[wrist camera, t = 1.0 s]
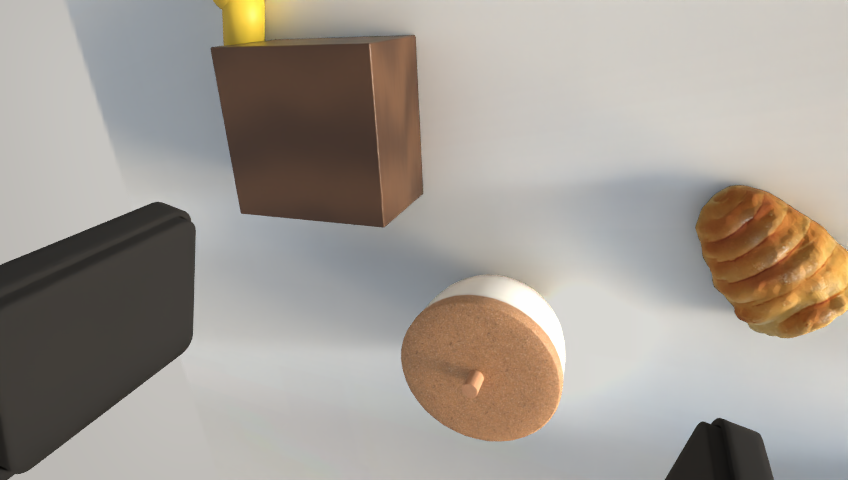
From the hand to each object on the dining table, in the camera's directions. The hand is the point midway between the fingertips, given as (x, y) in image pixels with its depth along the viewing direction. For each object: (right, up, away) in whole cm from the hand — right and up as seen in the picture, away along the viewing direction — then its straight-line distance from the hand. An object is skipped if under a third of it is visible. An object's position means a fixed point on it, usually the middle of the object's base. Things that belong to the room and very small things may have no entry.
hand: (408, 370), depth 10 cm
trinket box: (+6, -3, +33) cm, 34 cm away
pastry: (+21, +1, +25) cm, 33 cm away
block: (-5, +11, +31) cm, 33 cm away
